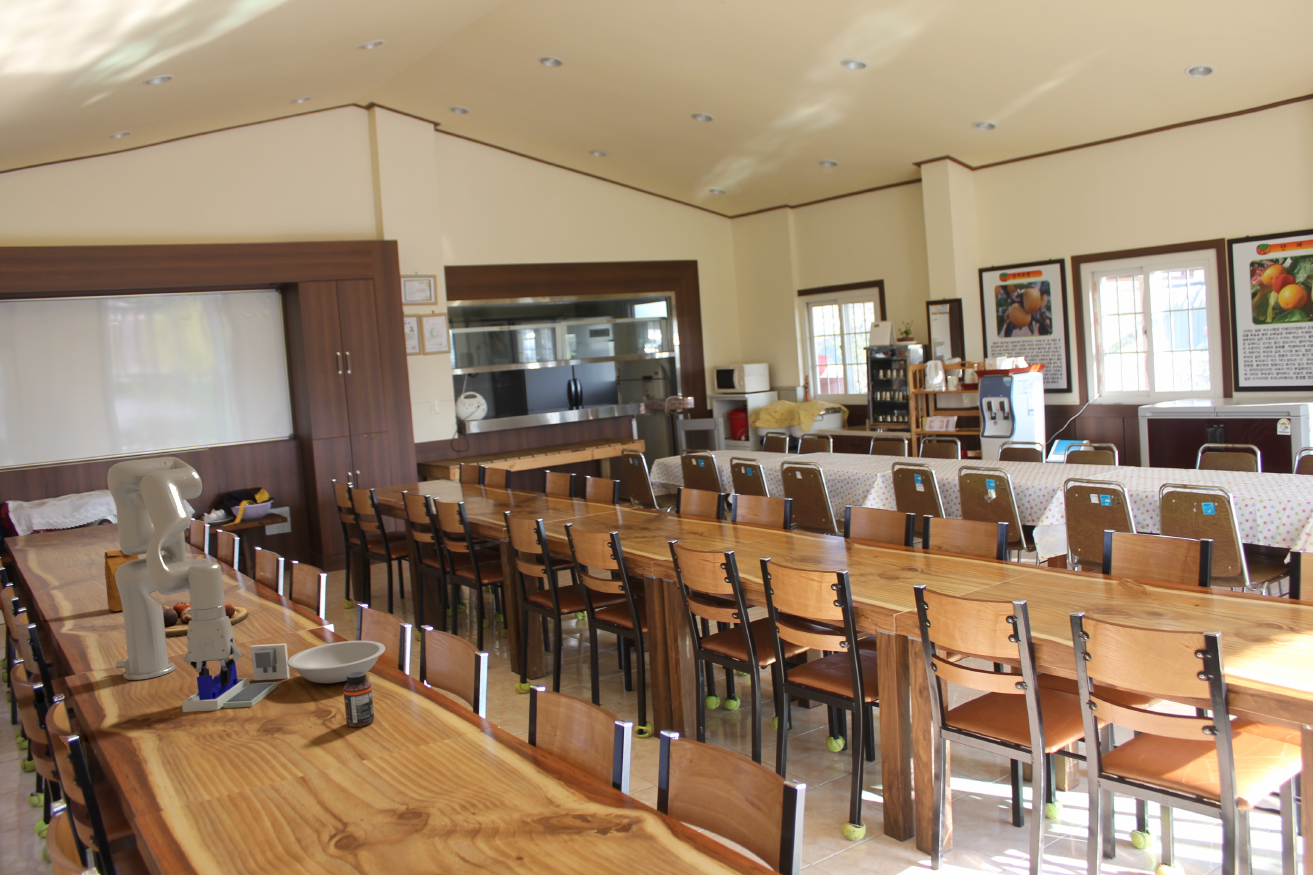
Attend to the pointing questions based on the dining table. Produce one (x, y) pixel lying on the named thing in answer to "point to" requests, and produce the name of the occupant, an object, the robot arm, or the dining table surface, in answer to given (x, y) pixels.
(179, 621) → the wooden plate with food
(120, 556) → the coffee package
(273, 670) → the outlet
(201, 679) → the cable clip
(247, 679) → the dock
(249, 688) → the phone
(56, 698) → the dining table surface
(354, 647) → the soup bowl
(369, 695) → the supplement bottle
